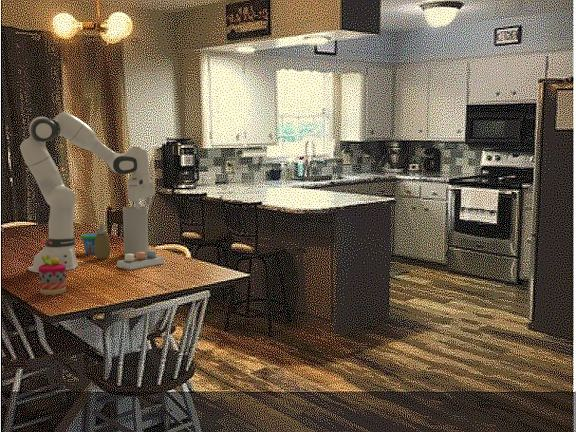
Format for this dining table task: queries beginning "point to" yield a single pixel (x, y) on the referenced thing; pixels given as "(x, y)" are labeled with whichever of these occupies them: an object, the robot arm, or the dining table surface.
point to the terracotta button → (140, 255)
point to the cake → (52, 277)
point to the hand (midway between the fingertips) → (143, 207)
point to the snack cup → (89, 242)
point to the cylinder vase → (135, 230)
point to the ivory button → (129, 257)
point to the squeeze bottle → (102, 244)
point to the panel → (140, 263)
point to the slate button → (151, 253)
